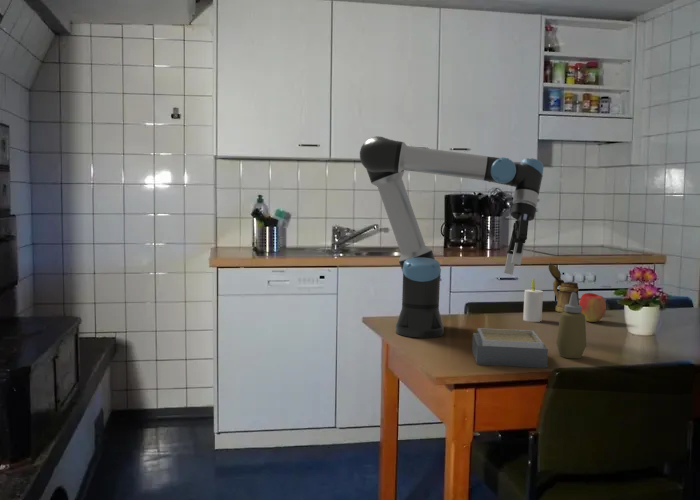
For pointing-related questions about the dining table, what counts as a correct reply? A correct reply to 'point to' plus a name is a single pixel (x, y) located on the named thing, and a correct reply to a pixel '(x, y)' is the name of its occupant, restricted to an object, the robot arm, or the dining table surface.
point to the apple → (592, 306)
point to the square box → (509, 348)
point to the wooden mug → (562, 289)
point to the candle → (533, 304)
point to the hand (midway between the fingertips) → (512, 269)
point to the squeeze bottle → (572, 330)
